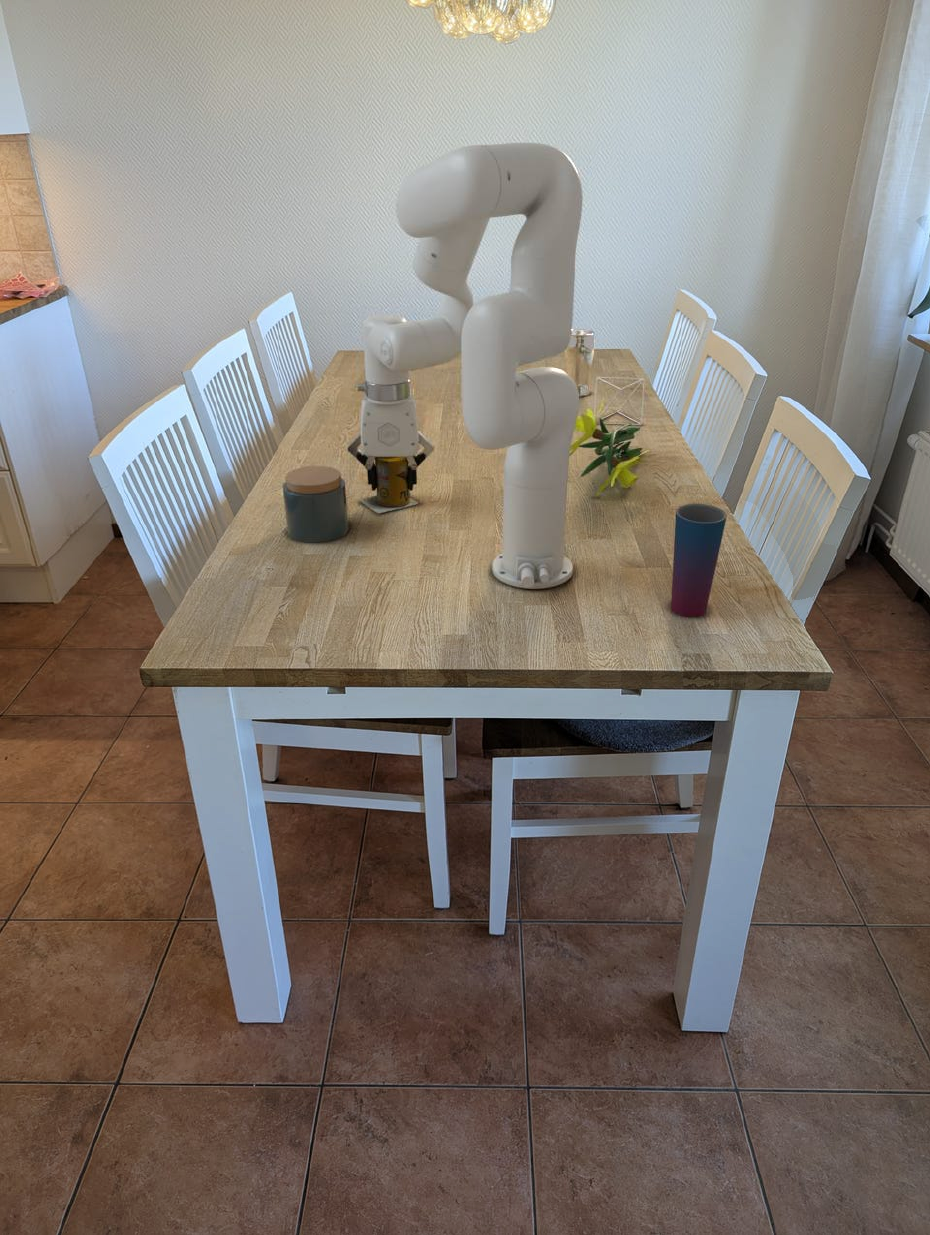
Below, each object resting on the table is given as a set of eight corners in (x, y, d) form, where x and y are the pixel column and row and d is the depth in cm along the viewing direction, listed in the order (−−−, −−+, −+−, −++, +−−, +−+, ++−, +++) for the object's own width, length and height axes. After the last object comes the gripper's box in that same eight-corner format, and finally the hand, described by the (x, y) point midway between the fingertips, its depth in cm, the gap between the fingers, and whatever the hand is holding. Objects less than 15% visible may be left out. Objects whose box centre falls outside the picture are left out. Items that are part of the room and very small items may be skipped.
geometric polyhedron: (653, 419, 211) (656, 380, 206) (629, 431, 203) (633, 390, 199) (606, 410, 218) (608, 371, 213) (581, 421, 210) (584, 381, 206)
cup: (678, 592, 137) (690, 499, 130) (720, 606, 134) (735, 511, 126) (656, 610, 133) (667, 514, 125) (699, 625, 129) (712, 527, 121)
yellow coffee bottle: (419, 504, 168) (417, 441, 162) (378, 514, 164) (374, 450, 158) (399, 491, 173) (396, 430, 167) (359, 501, 169) (355, 438, 163)
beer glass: (558, 391, 231) (561, 330, 224) (582, 388, 234) (585, 327, 226) (572, 398, 226) (575, 336, 218) (596, 395, 228) (600, 333, 221)
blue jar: (344, 542, 153) (340, 486, 148) (282, 542, 153) (276, 486, 148) (351, 517, 162) (347, 464, 157) (293, 518, 162) (287, 464, 157)
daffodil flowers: (677, 462, 188) (656, 475, 156) (612, 493, 194) (579, 512, 162) (643, 387, 187) (614, 385, 155) (579, 420, 193) (538, 425, 161)
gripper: (335, 396, 155) (342, 496, 164) (437, 396, 155) (439, 495, 164) (341, 384, 161) (348, 480, 170) (439, 384, 161) (440, 480, 170)
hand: (392, 487), depth 167 cm, fingers closed on yellow coffee bottle, 6 cm apart
